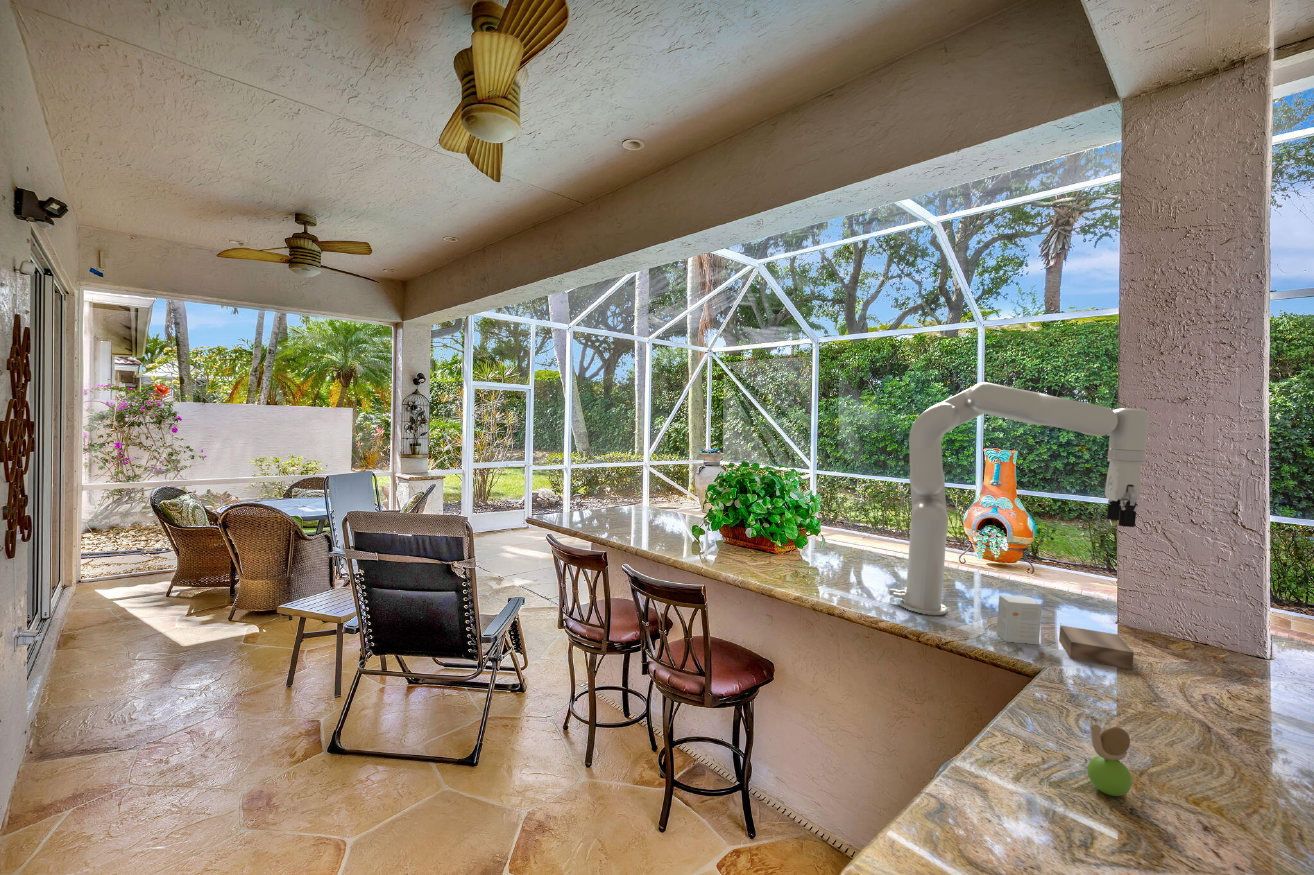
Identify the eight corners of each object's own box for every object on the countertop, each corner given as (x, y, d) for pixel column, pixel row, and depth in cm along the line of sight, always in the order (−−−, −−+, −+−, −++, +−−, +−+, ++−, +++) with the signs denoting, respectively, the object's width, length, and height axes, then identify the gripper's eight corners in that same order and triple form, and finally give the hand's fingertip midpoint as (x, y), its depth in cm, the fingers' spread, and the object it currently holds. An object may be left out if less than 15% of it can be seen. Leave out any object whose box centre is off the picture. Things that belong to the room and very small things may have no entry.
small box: (1027, 636, 153) (1031, 596, 153) (1039, 645, 148) (1043, 604, 147) (995, 634, 154) (998, 594, 154) (1005, 642, 149) (1009, 601, 148)
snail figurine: (1071, 781, 93) (1078, 707, 92) (1109, 780, 93) (1116, 707, 93) (1100, 804, 87) (1107, 726, 87) (1139, 804, 88) (1147, 726, 87)
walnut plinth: (1070, 658, 141) (1071, 641, 140) (1058, 640, 152) (1060, 625, 151) (1132, 669, 136) (1133, 652, 136) (1116, 650, 147) (1117, 634, 146)
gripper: (1098, 453, 160) (1093, 515, 161) (1119, 458, 144) (1112, 527, 145) (1133, 455, 157) (1127, 519, 158) (1157, 460, 141) (1150, 531, 142)
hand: (1120, 522), depth 152 cm, fingers open, 9 cm apart
